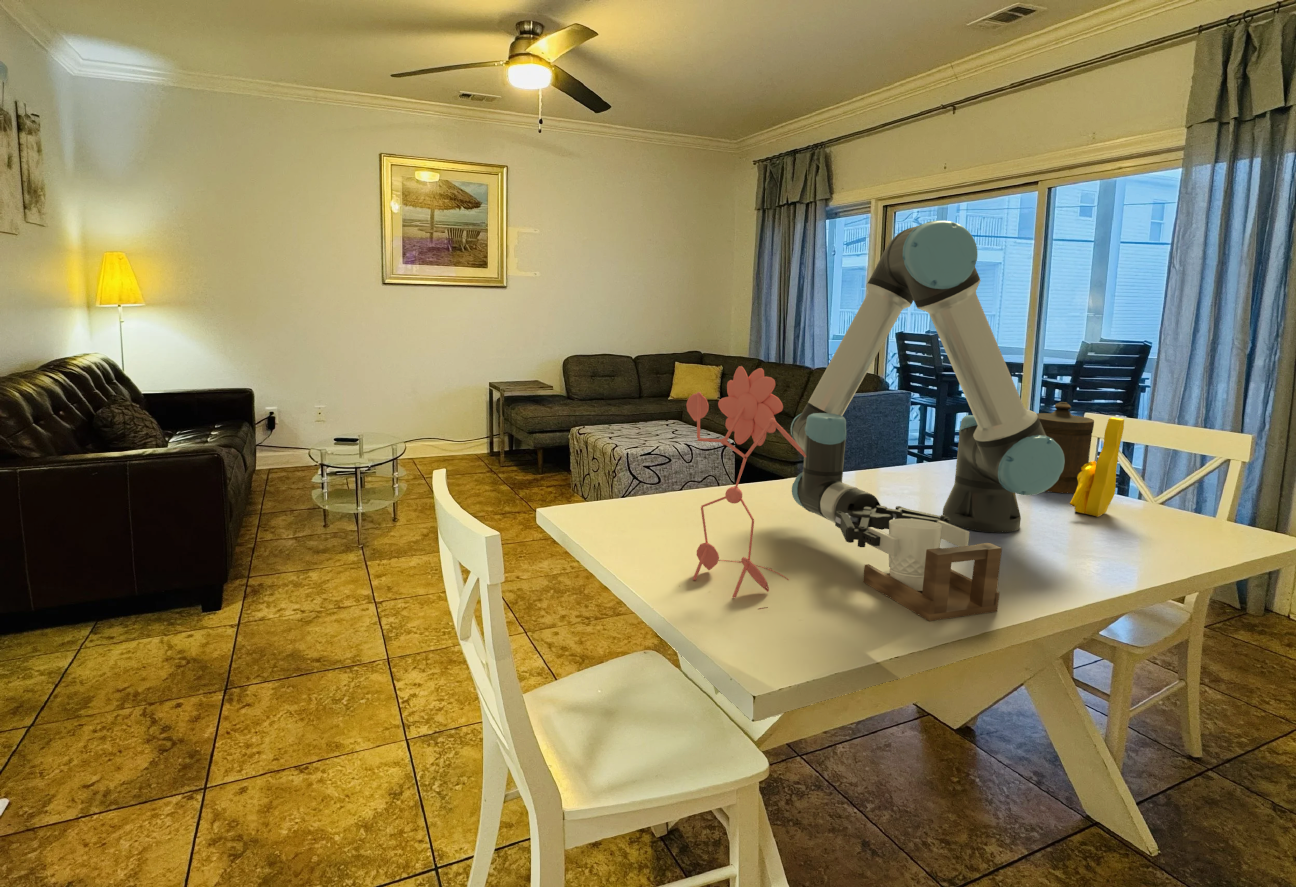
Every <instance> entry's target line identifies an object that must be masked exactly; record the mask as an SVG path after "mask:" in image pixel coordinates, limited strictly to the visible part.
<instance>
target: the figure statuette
mask: <svg viewBox="0 0 1296 887" xmlns="http://www.w3.org/2000/svg"><path fill="white" fill-rule="evenodd" d="M1106 423H1107V424H1106V426H1105V430H1104V437H1103V445H1102V447H1101V451H1100V453H1099V456H1098V458H1097V459H1096V460H1091V461H1089V463H1087V464H1085V465H1084V466H1082V467H1081V470H1082V471H1081V472H1080V473H1079V474H1078V477H1077V480H1078V486H1077V489H1076V492H1075V493H1073V496H1072V498H1071V500H1070V502H1069V505H1070V506H1072V507H1074V512H1076V513H1080V514H1086V515H1090V516H1093V517H1097V518H1099V517H1100V516H1102V515H1104V514H1105V513H1107V511H1108V508H1109V506H1110V504H1111V502H1112V500H1113V499H1114V497H1115V494H1116V487H1117V486H1116V485H1117V484H1116V481H1117V466H1118V462H1119V452H1120V448H1121V447H1120V446H1121V441H1122V438H1123V434H1124V427H1125V426H1124V425H1125V419H1124V418H1119V417H1109V418H1108V420H1107V422H1106Z"/></svg>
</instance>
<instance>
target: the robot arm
mask: <svg viewBox="0 0 1296 887" xmlns="http://www.w3.org/2000/svg"><path fill="white" fill-rule="evenodd" d="M977 261H978V246H977V243H976V240H975V238H974V236H973V235H972V234H971V232H970V231H969V230H968V229H967V228H965V227H964V226H963V225H961V224H959V223H957V222H954V221H950V220H949V221H948V220H931V221H927V222H925V223H922V224H919V225H917V226H914V227H913V226H912V227H908V228H907V229H906V228H905V229H904V230H902V231H901V232H898V233H897V234H896V235H895V236H894V237H893V238H892V239H891V240H890V242H889V243H888V245H886V248H885V249H884V251H883V252H882V255H881V256H880V258H879V260H878V263H876V266H875V268H874V270H873V272H872V274H871V276H870V277H869V280H868V282H867V283H866V289H867V294H866V296H865V297H864V299H863V301H862V303H861V305H860V307H859V308H858V310H857V312H856V314H855V316H854V317H853V319H852V321H851V323H850V325H849V326H848V328H847V330H846V332H845V334H844V335H843V338H842V339H841V341H840V343H839V344H838V347H837V349H836V350H835V352H834V354H833V356H832V358H831V360H830V362H829V364H828V365H827V366H826V369H825V371H824V373H823V374H822V375H821V378H820V379H819V381H818V384H816V387H815V389H814V390H813V392H812V394H811V396H810V398H809V400H808V402H807V404H806V405H805V407H804V408H803V410H802V411H801V413H799V414H798V415H797V416H795V417H794V418H793V420H792V422H791V423H790V424H791V425H790V436H791V437H792V438H793V439H794V441H795V442H796V443H797V444H798V445H799V446H800V448H801V449H802V450H803V452H804V453H805V455H806V457H804V456H803V467H802V469H803V470H802V472H800V473H799V474H798V475H797V476H796V477H795V480H794V481H793V483H792V485H791V495H792V498H793V500H794V501H795V502H796V504H797V505H799V506H800V507H802V508H804V510H806V511H808V512H809V513H812V514H816V515H817V516H820V517H822V518H824V519H826V520H827V521H830V522H832V523H834V525H835V527H836V528H838V529H840V531H841V533H842V535H843V538H844V540H845V542H847V543H854V542H855V540H857V547H858V548H865V547H866V544H867V545H869V546H872V547H873V548H875V549H877V550H878V551H880V552H883V553H885V554H887V555H888V556H889V555H891V556H893V557H895V556H897V554H898V543H899V539H897V538H895V537H893V536H891V535H889V533H885V532H884V531H883V530H889V521H890V520H893V519H919V520H926V521H932V522H936V523H939V524H941V525H942V533H941V540H943V541H945V542H948V543H950V544H952V545H955V546H956V547H960V546H969V539H970V531H971V530H972V531H975V532H984V533H997V534H998V533H1012V532H1016V531H1017V530H1020V528H1021V521H1022V518H1021V512H1020V508H1019V504H1018V500H1017V496H1016V494H1017V495H1021V496H1035V495H1039V494H1042V493H1044V492H1046V490H1048V489H1049V488H1051V487H1052V486H1053V485H1054V484H1055V483H1056V482H1057V481H1058V479H1059V477H1060V475H1061V473H1062V472H1063V469H1064V463H1065V459H1064V453H1063V451H1062V449H1061V447H1060V446H1059V445H1058V444H1057V443H1056V442H1055V441H1054V440H1053V439H1052V438H1050V437H1047V436H1046V434H1045V432H1044V430H1043V427H1042V425H1041V422H1040V420H1039V418H1038V416H1037V414H1036V413H1037V412H1035V411H1032V410H1030V409H1027V408H1026V407H1025V406H1024V404H1023V401H1022V399H1021V397H1020V394H1019V392H1018V390H1017V387H1016V385H1015V383H1014V380H1013V378H1012V375H1011V373H1010V370H1009V367H1008V366H1007V363H1006V361H1005V358H1004V356H1003V354H1002V352H1001V349H1000V348H999V345H998V342H997V340H996V337H995V335H994V332H993V331H992V329H991V328H992V327H991V326H990V324H989V321H988V319H987V316H986V313H985V311H984V309H983V307H982V304H981V302H980V300H979V299H980V298H978V295H977V290H978V287H979V284H980V283H981V280H982V279H981V278H980V275H979V273H978V271H977V268H976V263H977ZM913 303H914V305H915V306H916V308H917V309H918V310H921V311H924V312H926V313H928V314H929V317H930V318H931V321H932V323H933V325H934V328H935V330H936V333H937V335H938V337H939V339H940V341H941V344H942V347H943V348H944V352H945V354H946V355H947V358H948V360H949V363H950V365H951V367H952V370H953V372H954V374H955V377H956V378H957V381H958V383H959V385H960V388H961V389H962V391H963V394H964V397H965V399H966V401H967V404H968V406H969V408H970V410H971V413H972V415H971V414H970V415H969V414H968V415H965V416H963V418H961V422H960V427H959V429H958V444H957V452H956V453H957V454H956V455H957V456H956V465H955V477H954V485H953V486H952V489H951V490H950V492H949V495H948V497H947V499H946V502H945V503H944V505H943V509H942V514H940V515H938V514H931V513H929V512H924V511H918V510H915V509H910V508H907V507H904V506H900V505H897V506H895V509H894V508H890V507H889V508H888V507H887V506H885V505H881V503H880V501H879V500H878V499H877V497H876V496H875V495H873V494H872V493H869V492H867V491H865V490H862V489H860V488H858V487H855V486H852V485H850V484H847V483H845V482H843V476H844V465H845V464H844V463H845V451H846V440H847V420H846V418H845V416H843V415H844V413H845V412H846V410H847V408H848V406H849V404H850V403H851V401H852V400H853V398H854V397H855V394H856V392H857V391H858V389H859V387H860V385H861V384H862V382H863V380H864V378H865V377H866V375H867V373H868V371H869V370H870V368H871V366H872V364H873V363H874V360H875V359H876V358H877V356H878V354H879V352H880V350H881V348H882V347H883V345H884V343H885V341H886V340H887V338H888V336H889V335H890V332H891V331H892V329H893V327H894V325H895V323H896V322H897V320H898V319H899V317H900V314H901V313H902V311H903V310H905V309H907V308H911V306H912V304H913ZM969 530H970V531H969Z"/></svg>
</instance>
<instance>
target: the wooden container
mask: <svg viewBox="0 0 1296 887" xmlns="http://www.w3.org/2000/svg"><path fill="white" fill-rule="evenodd" d="M1054 408H1055V410H1054V411H1053V412H1051V413H1050V412H1049V413H1045V412H1043V413H1042V412H1039V413H1038V412H1035V413H1036V414H1037V416H1038V418H1039V420H1040V422H1041V425H1042V427H1043V430H1044V432H1045V434H1046V436H1047V437H1050V438H1052V439H1053V440H1054V441H1055V442H1056V443H1057V444H1058V445H1059V446H1060V447H1061V449H1062V451H1063V453H1064V459H1065V463H1064V469H1063V472H1062V473H1061V475H1060V477H1059V479H1058V481H1057V482H1056V483H1055V484H1054V485H1053V486H1052V487H1051V488H1049V489H1048V490H1046V491H1045V492H1047V493H1055V494H1075V492H1076V489H1077V486H1078V480H1077V477H1078V474H1079V473H1080V472H1081V471H1082V470H1081V467H1082V466H1084V465H1085V464H1087V463H1089V462H1090V453H1091V446H1092V445H1091V444H1092V437H1093V436H1092V435H1093V432H1094V425H1095V420H1094V419H1092V418H1090V417H1086V416H1080V415H1074V414H1072V413H1071V412H1070V411H1069V410H1070V409H1071V408H1072V406H1071V405H1070V404H1069V403H1068V402H1066V401H1065V402H1064V401H1059V402H1057V403H1055V406H1054Z"/></svg>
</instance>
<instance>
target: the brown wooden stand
mask: <svg viewBox="0 0 1296 887" xmlns="http://www.w3.org/2000/svg"><path fill="white" fill-rule="evenodd" d="M1002 551H1003V548H1002V547H1000V546H998V545H995V544H993V543H991V542H984V543H975V544H971V545H968V546H960V547H959V546H952V547H943V548H941V547H940V548H935V549H926V559H925V570H924V580H923V591H916V590H915V589H913V588H911V587H909V586H907V585H906V584H904V583H902V582H900V581H898V580H896V579H895V578H893V577H891V576H890V572H888V573H887V572H884V571H882V570H880V569H878V568H877V567H874V566H873V565H871V564H869V563H868V564H867V563H866V564H864V566H863V567H864V568H863V582H862V583H864V584H866V585H868V586H869V587H870V588H872V589H874V590H876V591H877V592H879V593H881V594H883V595H884V596H886V597H887V598H890V600H893V601H895V602H896V603H898V604H899V605H901V606H903V607H904V608H906V609H907V610H910V611H911V612H913V613H914V614H916V615H918V617H919V616H920V617H921V618H923V619H925V620H926V621H928V622H932V621H940V620H946V619H953V618H954V619H955V618H960V617H966V616H967V617H968V616H974V615H981V614H987V613H994V612H998V606H999V600H1000V591H998V584H999V576H1000V569H1001V568H1000V567H1001V559H1002ZM969 561H973V567H972V578H970V577H969V576H966V575H964V574H962V573H961V572H960V573H959V572H958V571H955V570H954V569H952V564H953V563H960V562H969Z"/></svg>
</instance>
